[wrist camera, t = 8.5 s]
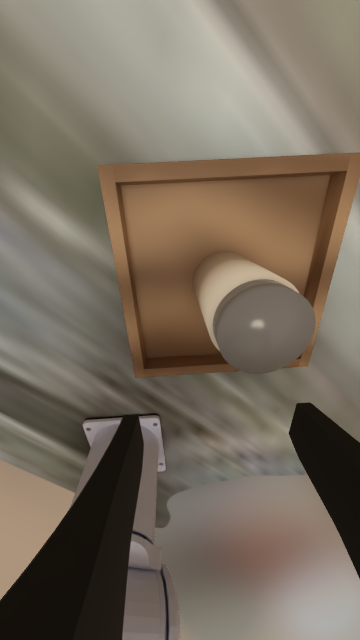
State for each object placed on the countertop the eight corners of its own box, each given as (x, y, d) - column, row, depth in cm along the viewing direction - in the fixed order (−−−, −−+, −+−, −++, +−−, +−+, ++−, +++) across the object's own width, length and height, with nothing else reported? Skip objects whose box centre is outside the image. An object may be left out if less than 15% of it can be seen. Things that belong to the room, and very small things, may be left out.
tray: (295, 352, 20) (307, 366, 18) (138, 362, 20) (135, 377, 18) (339, 160, 13) (365, 152, 12) (107, 172, 13) (97, 165, 11)
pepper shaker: (248, 307, 17) (308, 373, 10) (193, 310, 17) (212, 380, 10) (254, 249, 15) (333, 278, 8) (192, 252, 15) (214, 286, 8)
